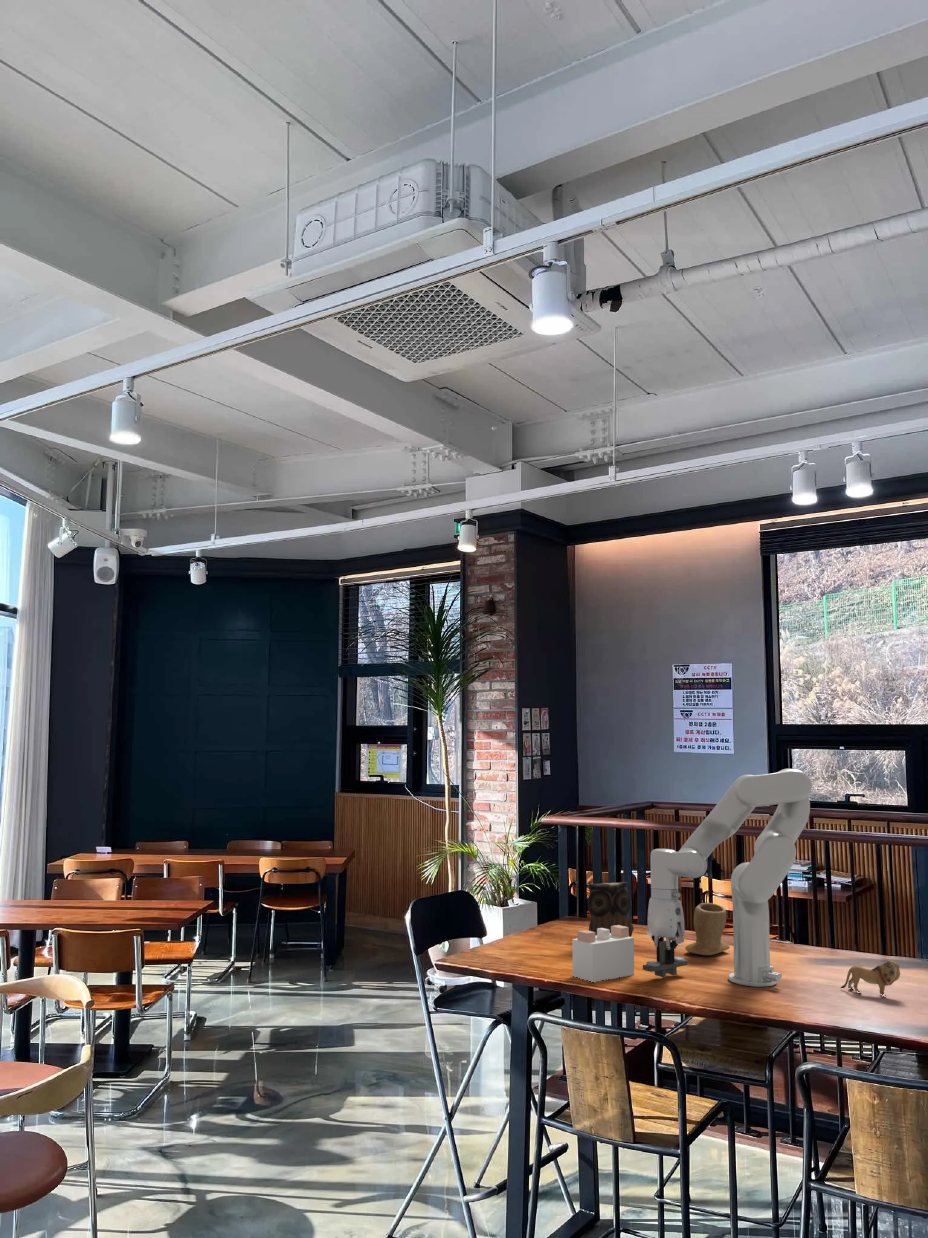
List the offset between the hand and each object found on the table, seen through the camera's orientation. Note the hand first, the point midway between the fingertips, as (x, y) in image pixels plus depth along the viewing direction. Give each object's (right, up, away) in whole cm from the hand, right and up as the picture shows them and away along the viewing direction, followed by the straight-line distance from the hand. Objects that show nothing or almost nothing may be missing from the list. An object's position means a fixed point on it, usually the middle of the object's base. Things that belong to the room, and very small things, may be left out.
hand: (665, 962), depth 259 cm
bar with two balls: (0, -3, 0) cm, 3 cm away
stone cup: (+20, -9, +30) cm, 38 cm away
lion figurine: (+51, -3, -14) cm, 53 cm away
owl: (-9, -10, +41) cm, 43 cm away
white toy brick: (-17, -4, +1) cm, 18 cm away
